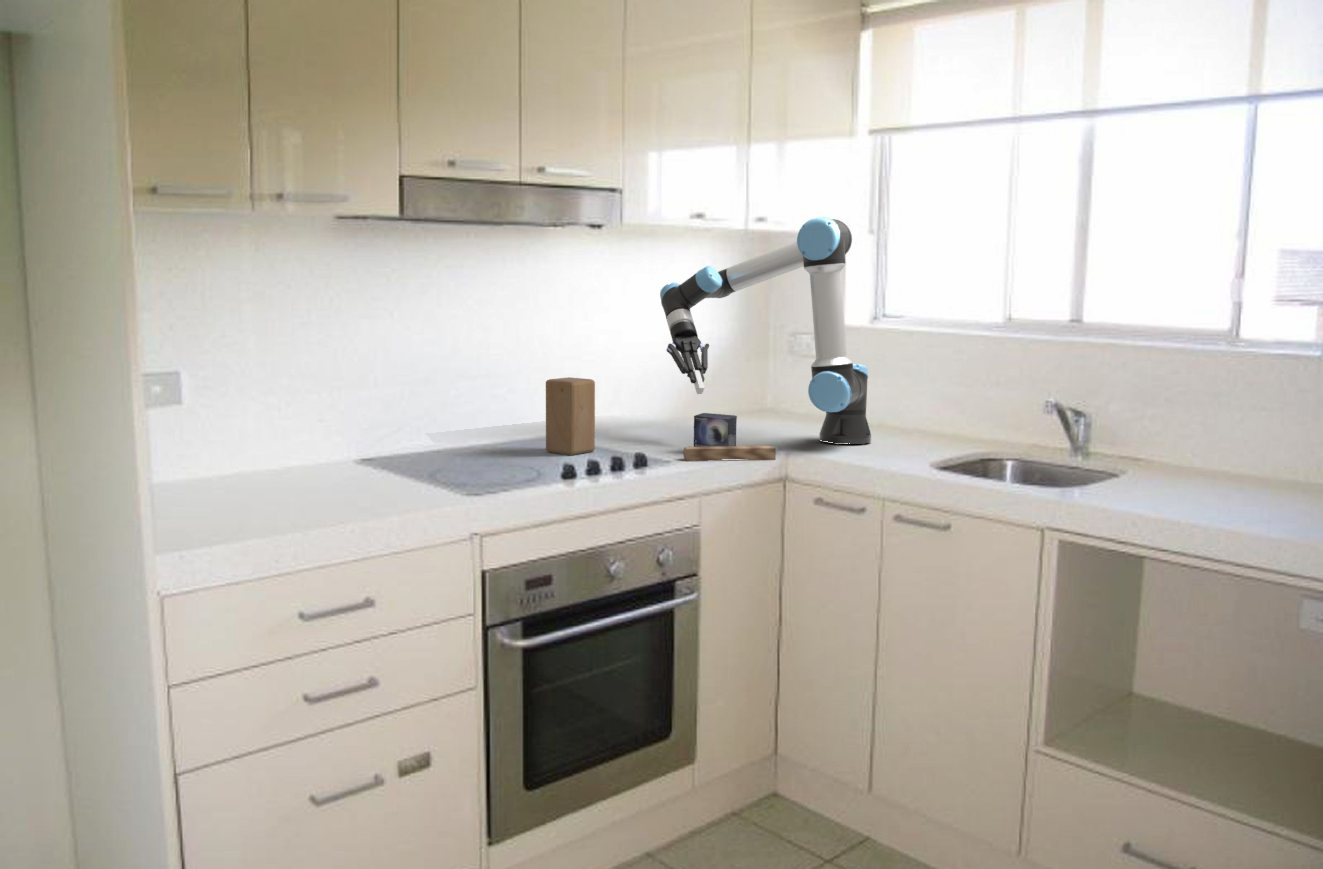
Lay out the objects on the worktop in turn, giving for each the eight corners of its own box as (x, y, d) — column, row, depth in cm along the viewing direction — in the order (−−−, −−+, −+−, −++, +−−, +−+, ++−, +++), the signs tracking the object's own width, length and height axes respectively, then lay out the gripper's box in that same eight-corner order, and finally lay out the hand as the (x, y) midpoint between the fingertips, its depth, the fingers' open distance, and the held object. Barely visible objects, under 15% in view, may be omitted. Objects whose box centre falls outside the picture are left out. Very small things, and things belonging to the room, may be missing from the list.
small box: (692, 452, 303) (692, 415, 302) (702, 449, 309) (702, 412, 308) (727, 456, 298) (727, 417, 297) (736, 452, 304) (737, 415, 303)
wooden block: (571, 456, 295) (571, 381, 292) (544, 452, 301) (544, 379, 298) (596, 451, 303) (596, 379, 300) (569, 448, 309) (568, 376, 306)
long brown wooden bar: (771, 458, 297) (771, 445, 297) (775, 461, 293) (775, 448, 293) (683, 459, 294) (684, 446, 293) (686, 462, 290) (686, 449, 289)
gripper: (699, 336, 329) (718, 398, 316) (658, 336, 325) (675, 399, 312) (706, 319, 323) (726, 382, 310) (664, 319, 319) (682, 382, 306)
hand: (700, 390), depth 311 cm, fingers closed
